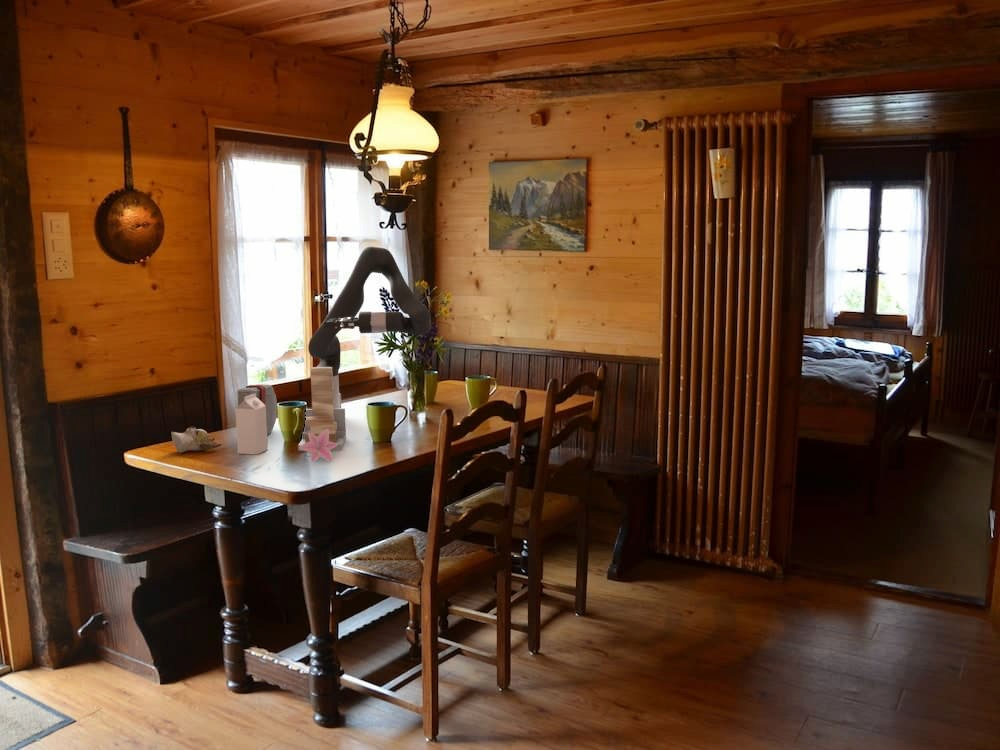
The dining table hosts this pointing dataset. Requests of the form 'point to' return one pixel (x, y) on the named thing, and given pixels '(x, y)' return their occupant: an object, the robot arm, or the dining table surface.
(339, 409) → the slot rack
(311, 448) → the lily
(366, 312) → the robot arm
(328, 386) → the wooden plank
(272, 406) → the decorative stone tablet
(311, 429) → the offcut stack
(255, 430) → the milk carton
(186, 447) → the ceramic sculpture
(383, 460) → the dining table surface
